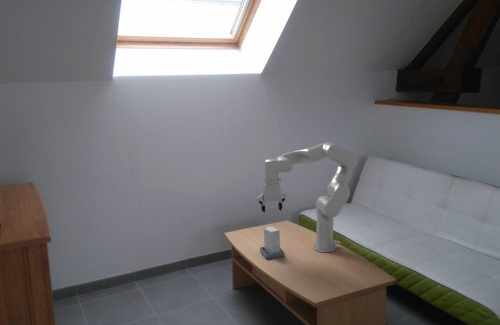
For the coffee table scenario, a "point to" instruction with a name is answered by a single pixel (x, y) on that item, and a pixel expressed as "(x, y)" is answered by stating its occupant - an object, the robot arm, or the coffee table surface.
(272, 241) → the skincare box
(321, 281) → the coffee table surface
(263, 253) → the tray
